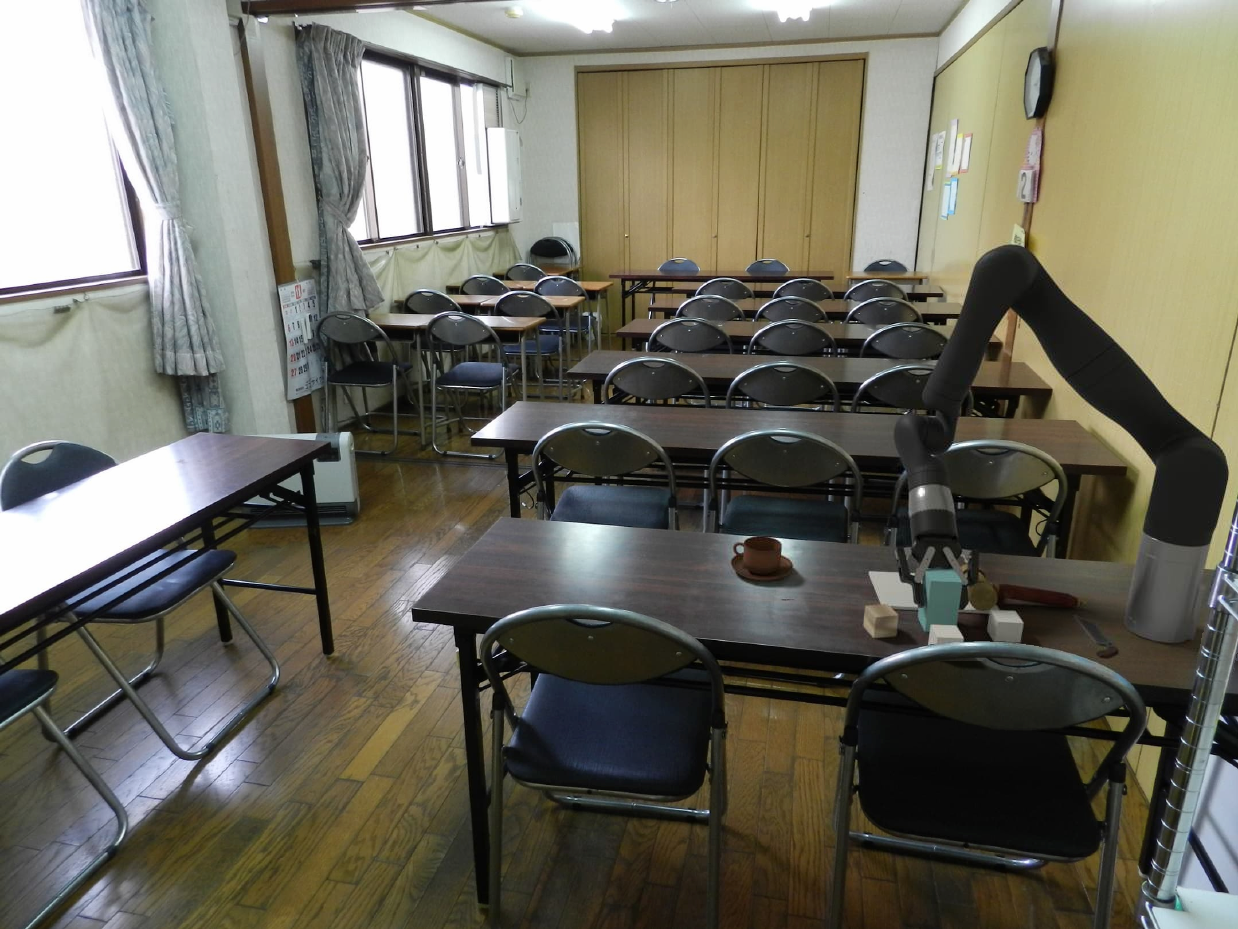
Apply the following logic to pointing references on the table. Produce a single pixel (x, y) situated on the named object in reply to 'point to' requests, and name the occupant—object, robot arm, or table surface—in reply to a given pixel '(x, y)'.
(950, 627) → the white cube back
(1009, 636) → the grey cube left
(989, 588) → the gavel
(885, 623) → the birch cube right
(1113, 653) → the knife
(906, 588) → the white mat
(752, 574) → the cup and saucer
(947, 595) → the teal block
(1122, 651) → the table surface
